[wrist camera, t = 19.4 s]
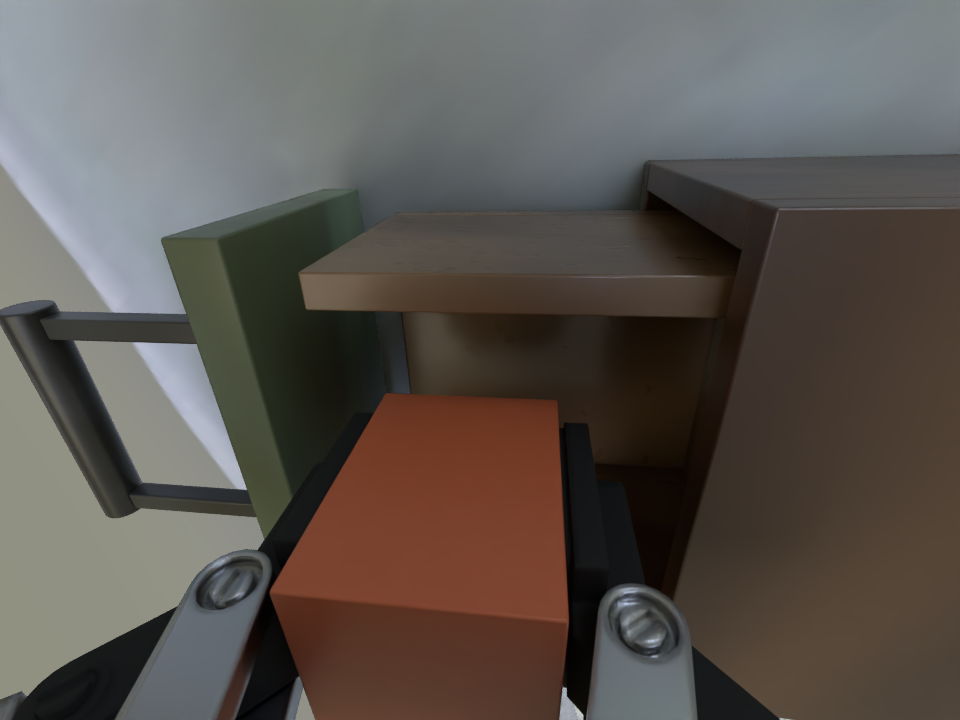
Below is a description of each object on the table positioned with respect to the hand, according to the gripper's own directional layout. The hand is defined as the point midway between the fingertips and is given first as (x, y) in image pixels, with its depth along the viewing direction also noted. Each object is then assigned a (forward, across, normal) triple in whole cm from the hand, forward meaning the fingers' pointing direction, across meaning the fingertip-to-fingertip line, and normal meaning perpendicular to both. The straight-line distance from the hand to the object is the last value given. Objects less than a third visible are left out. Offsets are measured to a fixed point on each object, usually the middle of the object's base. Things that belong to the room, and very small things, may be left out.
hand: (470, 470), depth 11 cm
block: (0, 0, 0) cm, 0 cm away
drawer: (+7, +2, 0) cm, 7 cm away
